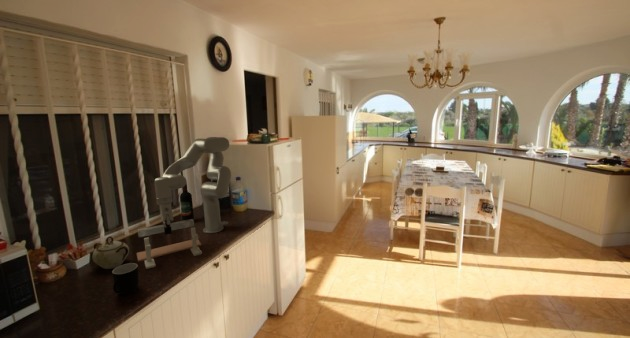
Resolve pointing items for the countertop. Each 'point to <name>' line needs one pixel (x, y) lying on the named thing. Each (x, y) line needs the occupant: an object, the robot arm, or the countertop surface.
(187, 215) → the wine bottle
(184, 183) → the robot arm
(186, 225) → the steel rail
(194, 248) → the shelf brackets
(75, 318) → the countertop surface
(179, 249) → the terracotta mat
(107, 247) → the sugar bowl
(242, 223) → the countertop surface
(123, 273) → the mug
